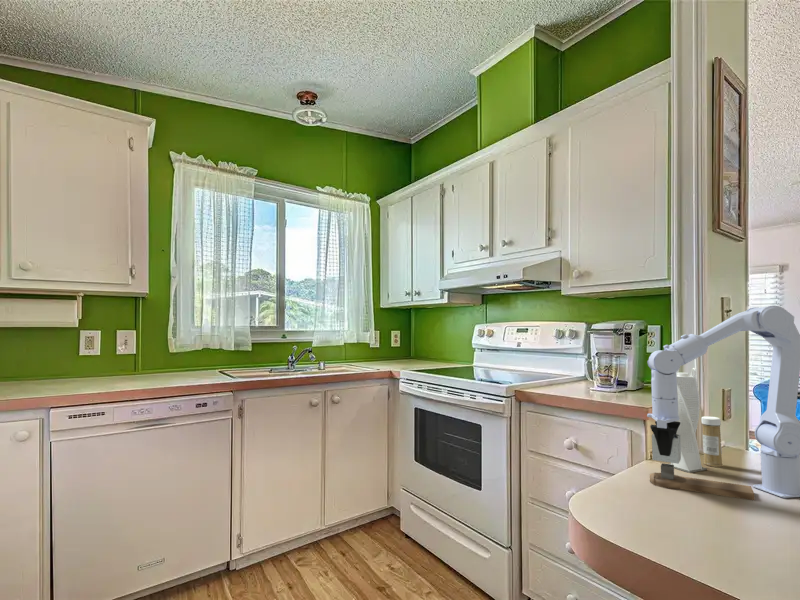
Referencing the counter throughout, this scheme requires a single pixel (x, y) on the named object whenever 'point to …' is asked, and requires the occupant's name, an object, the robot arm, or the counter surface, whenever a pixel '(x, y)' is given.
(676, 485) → the walnut base
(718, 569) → the counter surface
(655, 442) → the steel collar
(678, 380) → the skyscraper
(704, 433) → the sprinkles bottle
